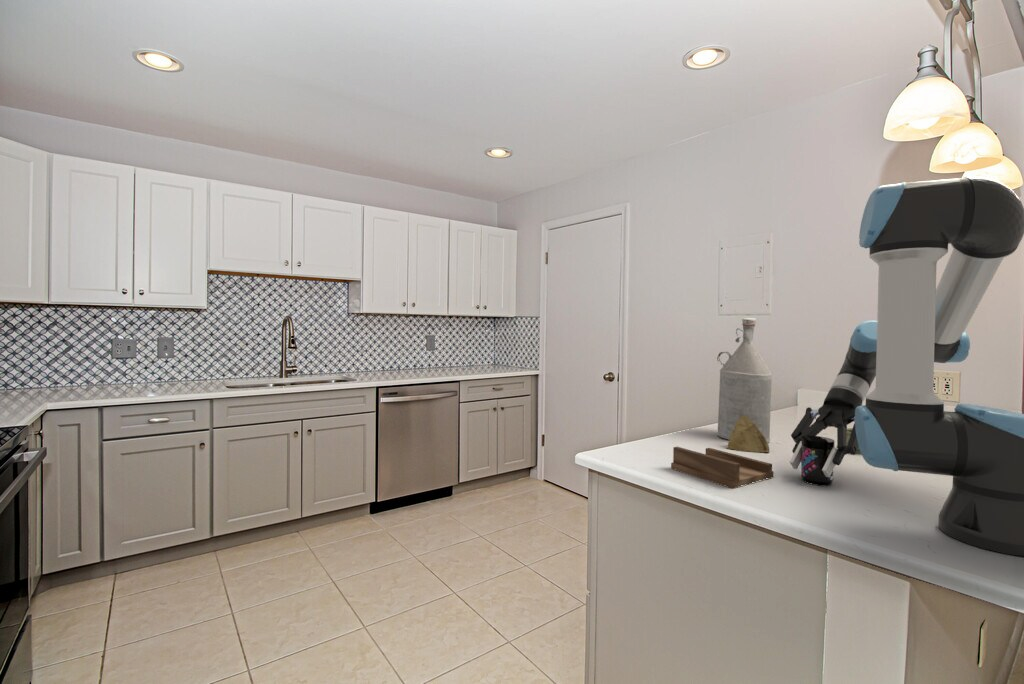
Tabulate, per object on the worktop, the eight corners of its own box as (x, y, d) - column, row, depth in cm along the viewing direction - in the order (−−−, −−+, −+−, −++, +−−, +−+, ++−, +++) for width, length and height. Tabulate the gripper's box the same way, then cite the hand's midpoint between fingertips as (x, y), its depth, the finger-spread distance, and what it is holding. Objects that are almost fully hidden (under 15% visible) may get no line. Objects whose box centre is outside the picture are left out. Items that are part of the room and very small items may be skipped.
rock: (779, 443, 147) (749, 432, 156) (772, 423, 144) (741, 413, 152) (757, 468, 144) (728, 456, 153) (750, 448, 140) (720, 436, 149)
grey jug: (725, 431, 174) (728, 317, 172) (777, 440, 160) (781, 317, 159) (706, 436, 166) (709, 317, 164) (759, 447, 152) (763, 317, 151)
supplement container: (802, 475, 125) (804, 434, 124) (834, 481, 120) (836, 438, 120) (798, 482, 119) (799, 439, 119) (831, 488, 115) (833, 443, 115)
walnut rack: (710, 459, 138) (711, 440, 138) (773, 477, 123) (773, 455, 123) (671, 468, 130) (671, 447, 130) (733, 488, 114) (733, 465, 114)
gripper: (896, 412, 119) (860, 491, 111) (810, 400, 135) (774, 468, 128) (886, 391, 116) (849, 471, 108) (800, 382, 132) (763, 450, 125)
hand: (809, 469), depth 118 cm, fingers closed on supplement container, 7 cm apart
